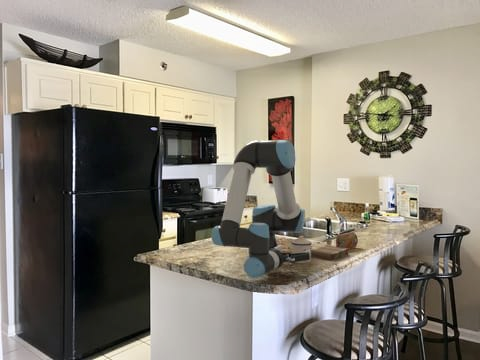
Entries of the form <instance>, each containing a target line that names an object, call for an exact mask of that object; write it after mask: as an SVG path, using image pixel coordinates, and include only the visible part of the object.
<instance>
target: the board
mask: <svg viewBox="0 0 480 360" xmlns="http://www.w3.org/2000/svg"><path fill="white" fill-rule="evenodd" d="M348 255H349V250H348V248H341V247H336V245H335V246H334V245H329V244H325V245H321V246H319V247H316V248H312V249H311V258H315V259H321V260H327V261H331V260H332V261H333V260H334V261H336V260H338V258H339V259H341V258H343V256H344V257H345V256H348Z"/></svg>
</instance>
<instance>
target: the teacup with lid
mask: <svg viewBox="0 0 480 360" xmlns="http://www.w3.org/2000/svg"><path fill="white" fill-rule="evenodd" d="M308 249H311V250H312V249H313V248H312V241H311V240H309V239H307V238H305V236H304V235H299V236H298V237H297V238H295V239H293V240H291V253H302V252H303V251H306V250H308ZM311 250H310V260H306V261H298V262H294V263H295V264H309V263H310V262H312V257H311Z"/></svg>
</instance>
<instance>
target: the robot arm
mask: <svg viewBox="0 0 480 360" xmlns="http://www.w3.org/2000/svg"><path fill="white" fill-rule="evenodd" d="M295 165H296V150H295V147H294V145H293V143H292V142H291V141H289V140H284V139H278V140H277V139H276V140H253V141H252V140H251V142H249V143H247V144H246V145H244V146H243V147H242V148H241V149H240V150H239V152H238V153H237V154H236V156H235V159H234V160H233V165H232V169H233V174H232V178H231V181H230V187H229V190H228V194H227V198H226V201H225V206H224V210H223V214H222V217H221V222H220V225H216V226H214V227H213V228H212V231H211V241H212V243H213V245H215V246H220V247H231V248H232V247H233V248H241V249H248V258H247V259H245V261H244V263H243V271H244V272H245V275H246V276H247V277H248V278H249V277H250V278H252V279H255V278H260V277H264V275H266V274H267V273H270V272H272V271H274V270H277V269H278V268H281V267H282V266H283V265H284V263H286V262H290V263H291V264H294V263H295V262H298V261H306V260H310V250H312V249H308V250H306V251H303V252H302V253H292V252H289V251H288V252H284V251H283V245H280V244H279V245H278V241H277V238H276V232H277V233H279V232H281V233H291V234H295V233H298V234H300V233H302V232H303V230H304V227H305V218H306V211H305V209H304V208H301V206H300V204H298V203H297V200H296V196H295V195H296V194H295V190H294V185H293V179H292V175H291V174H292V173H291V171H292V170H293V168H294V167H295ZM258 168H259V169H262V168H263V169H264V168H265V171H266V173H267V174H268V175H269V176H271V180H272V185H273V189H274V194H275V198H276V202H277V207H276V205H275V204H266V205H258V206H255V207H253V208H252V215H251V221H252V222H251V223H250V224H249V226H248V227H241V222H242V219H243V215H244V210H245V209H244V208H245V205H246V201H247V197H248V191H249V186H250V183H251V179H252V175H254V174H255V172H256V169H258Z"/></svg>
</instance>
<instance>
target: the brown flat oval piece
mask: <svg viewBox="0 0 480 360" xmlns="http://www.w3.org/2000/svg"><path fill="white" fill-rule="evenodd" d="M358 241H359V239H358V236H357V234H356V233H355V232H346V233H341V234H338V235H337V236H336V238H335V247H341V248H348V251H349V250H353V249H355V248H356V247H357V246H358Z"/></svg>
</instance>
